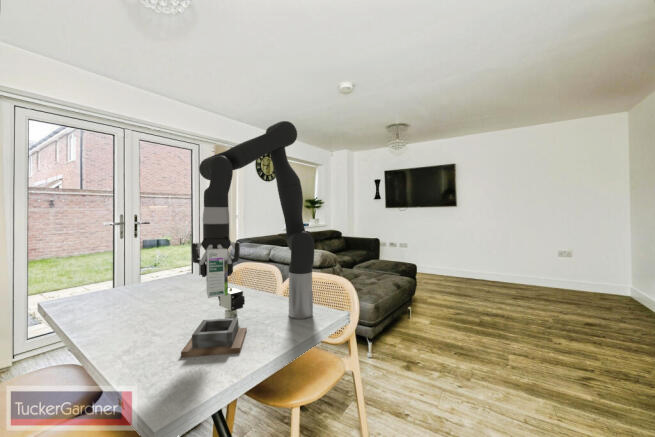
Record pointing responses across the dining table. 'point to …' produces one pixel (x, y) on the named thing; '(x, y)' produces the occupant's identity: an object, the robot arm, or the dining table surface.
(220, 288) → the syrup box
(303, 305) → the robot arm
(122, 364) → the dining table surface
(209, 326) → the dock socket
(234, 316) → the pneumatic valve
